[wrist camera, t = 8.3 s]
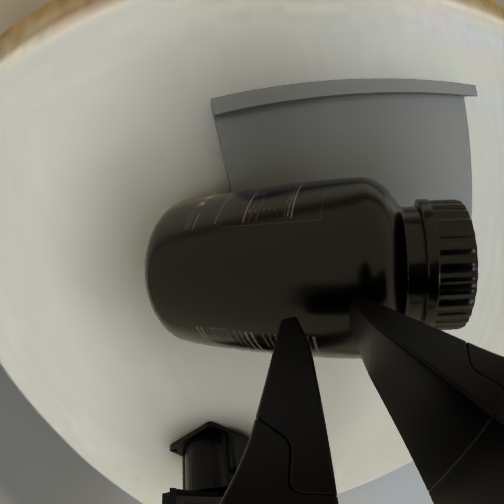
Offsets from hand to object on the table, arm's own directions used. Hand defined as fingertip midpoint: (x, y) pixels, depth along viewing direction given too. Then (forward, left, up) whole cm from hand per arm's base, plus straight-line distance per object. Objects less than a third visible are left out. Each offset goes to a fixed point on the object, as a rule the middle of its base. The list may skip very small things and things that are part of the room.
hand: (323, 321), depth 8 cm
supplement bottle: (-4, +2, -7) cm, 8 cm away
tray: (+6, -5, -10) cm, 13 cm away
